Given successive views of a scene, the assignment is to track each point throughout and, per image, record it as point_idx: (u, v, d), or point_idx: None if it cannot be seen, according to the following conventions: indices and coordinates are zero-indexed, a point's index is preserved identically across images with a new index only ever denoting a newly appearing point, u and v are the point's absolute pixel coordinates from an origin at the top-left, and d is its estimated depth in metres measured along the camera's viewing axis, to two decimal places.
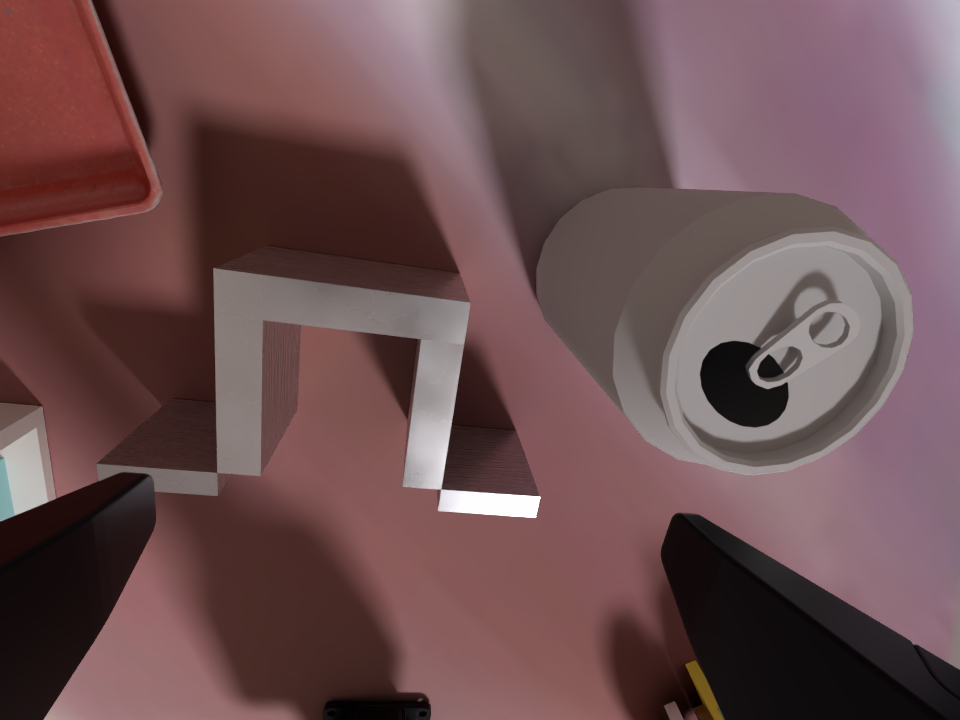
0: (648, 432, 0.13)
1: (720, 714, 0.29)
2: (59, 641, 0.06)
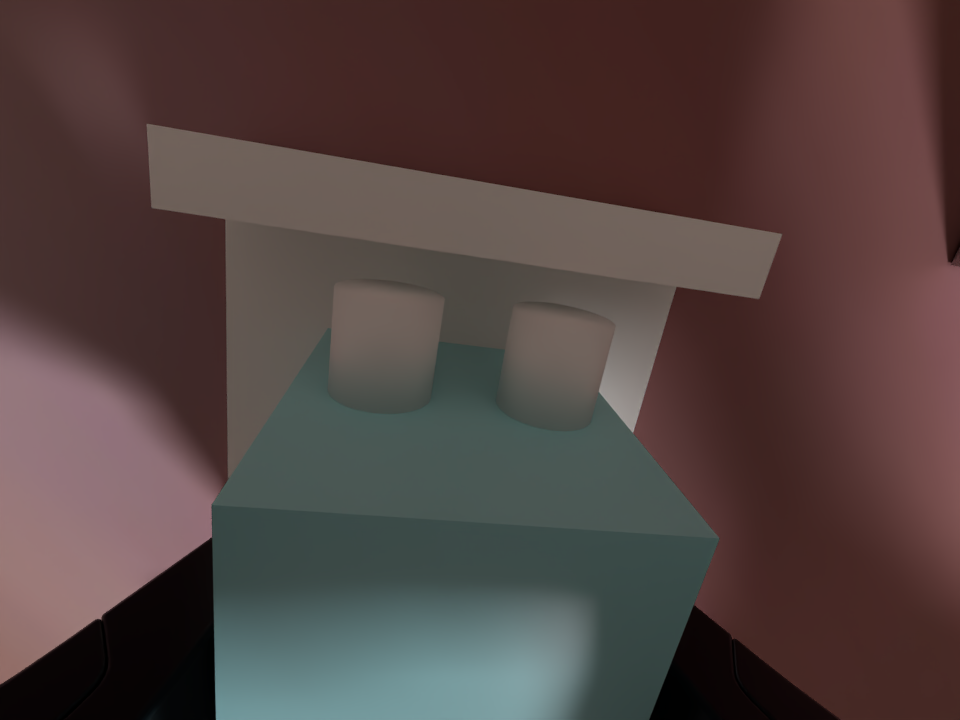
0: None
1: None
2: None
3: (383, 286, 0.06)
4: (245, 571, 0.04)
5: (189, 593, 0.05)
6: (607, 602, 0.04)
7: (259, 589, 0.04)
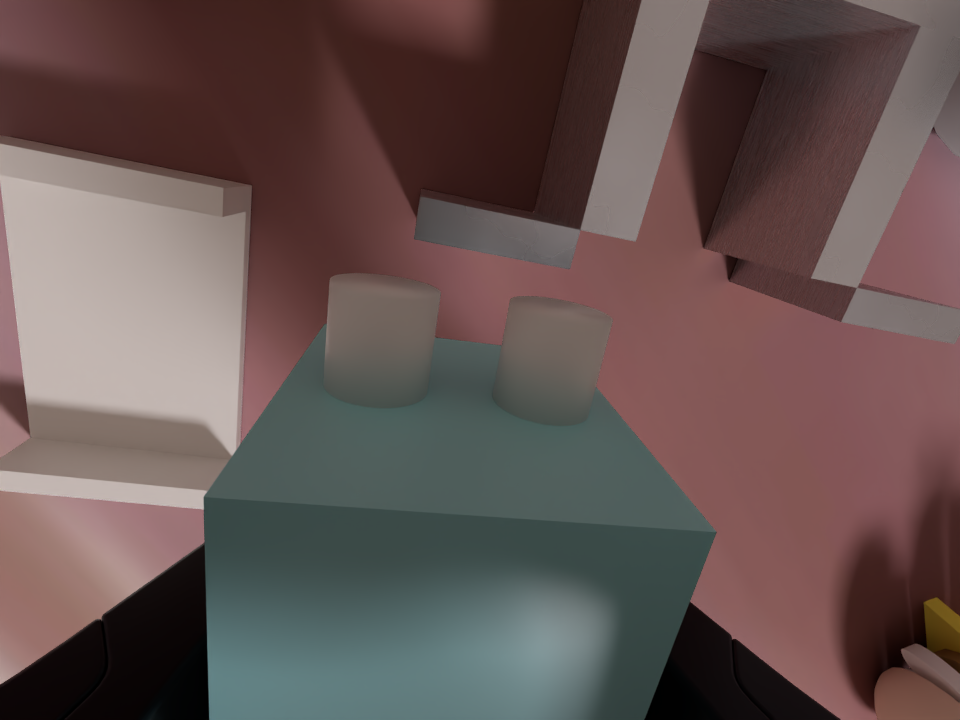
0: None
1: None
2: None
3: (379, 280, 0.06)
4: (238, 564, 0.04)
5: (189, 593, 0.05)
6: (603, 595, 0.04)
7: (252, 583, 0.04)
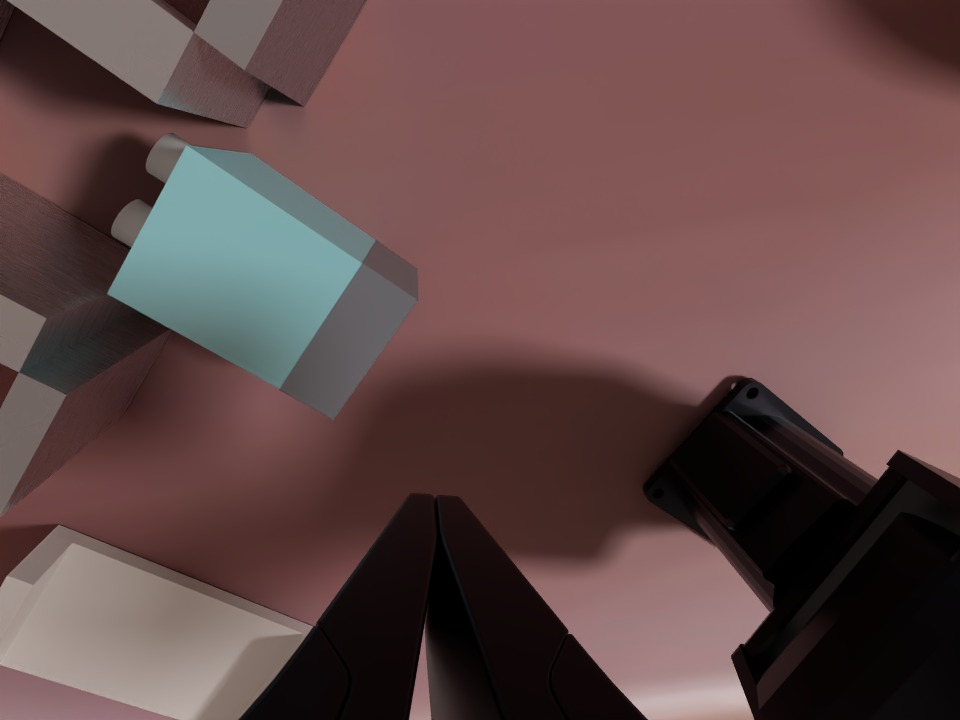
0: None
1: None
2: (419, 649, 0.07)
3: None
4: (136, 299, 0.12)
5: (382, 600, 0.05)
6: (201, 197, 0.11)
7: (145, 300, 0.12)
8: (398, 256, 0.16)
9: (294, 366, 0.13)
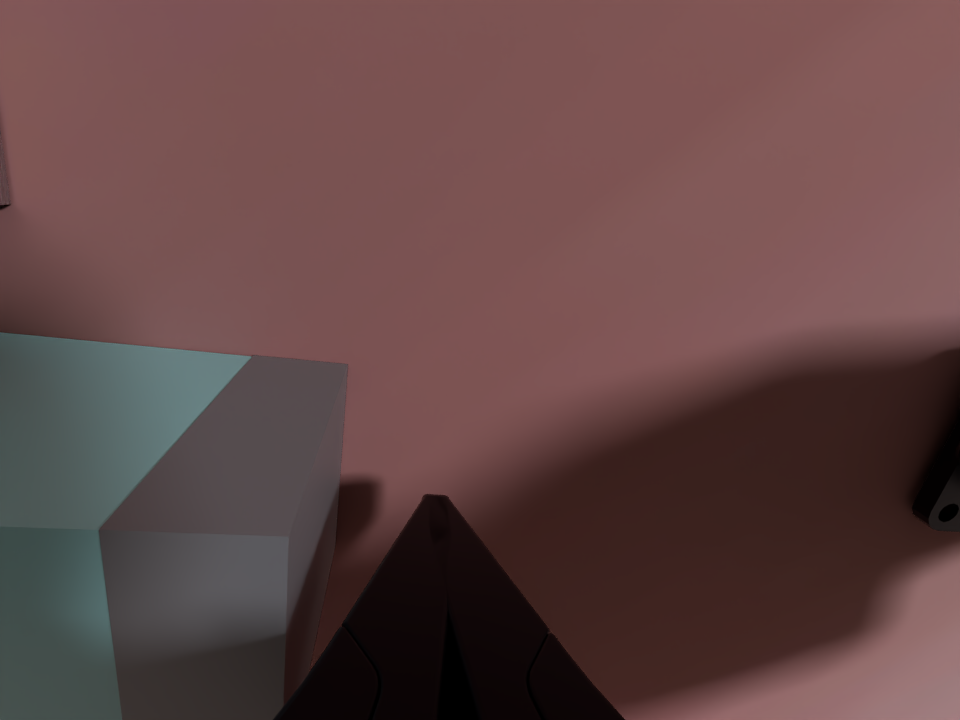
0: None
1: None
2: None
3: None
4: None
5: (406, 601, 0.05)
6: None
7: None
8: (301, 364, 0.08)
9: None
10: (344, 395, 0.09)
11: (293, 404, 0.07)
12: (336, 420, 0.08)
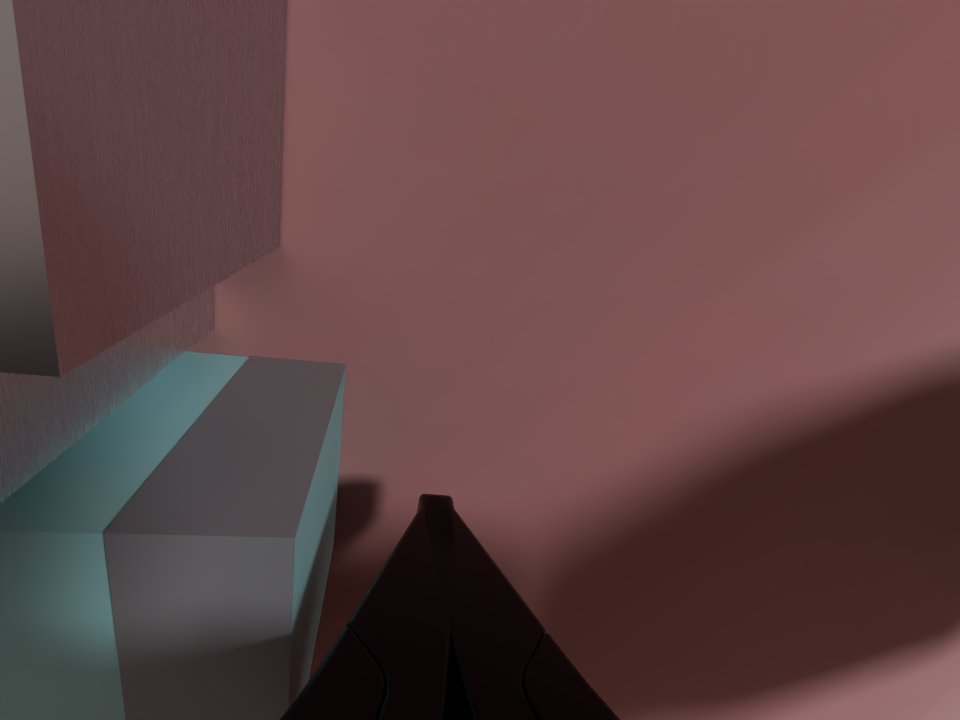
0: None
1: None
2: None
3: None
4: None
5: (410, 601, 0.05)
6: None
7: None
8: (300, 364, 0.08)
9: None
10: (342, 395, 0.09)
11: (293, 405, 0.07)
12: (335, 420, 0.08)
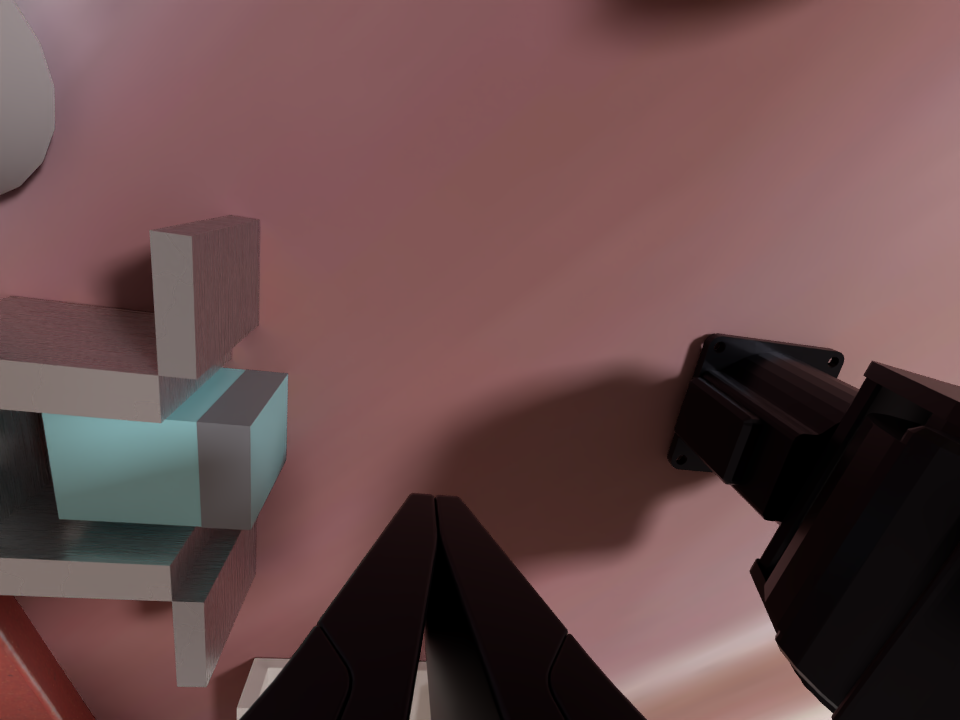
0: None
1: None
2: None
3: None
4: (77, 514, 0.16)
5: (383, 600, 0.05)
6: (71, 435, 0.15)
7: (83, 511, 0.16)
8: (267, 373, 0.20)
9: (200, 508, 0.16)
10: (286, 387, 0.20)
11: (259, 389, 0.18)
12: (279, 397, 0.19)
